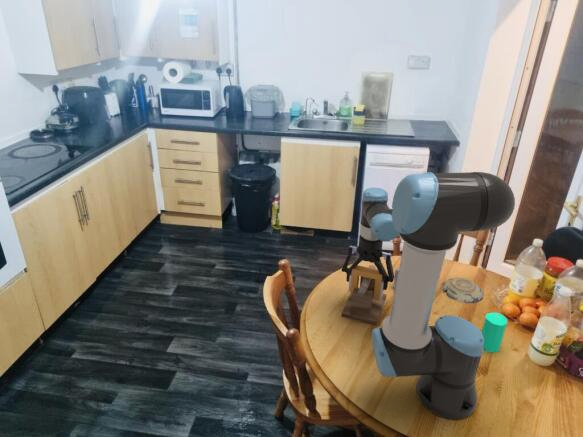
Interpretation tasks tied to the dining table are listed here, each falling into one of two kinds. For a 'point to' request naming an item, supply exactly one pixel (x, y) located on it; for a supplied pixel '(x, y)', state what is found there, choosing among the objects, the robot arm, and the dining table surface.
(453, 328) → the robot arm
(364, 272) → the orange open frame
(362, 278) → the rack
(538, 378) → the dining table surface
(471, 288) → the decorative bowl
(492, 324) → the candle
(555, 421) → the dining table surface
